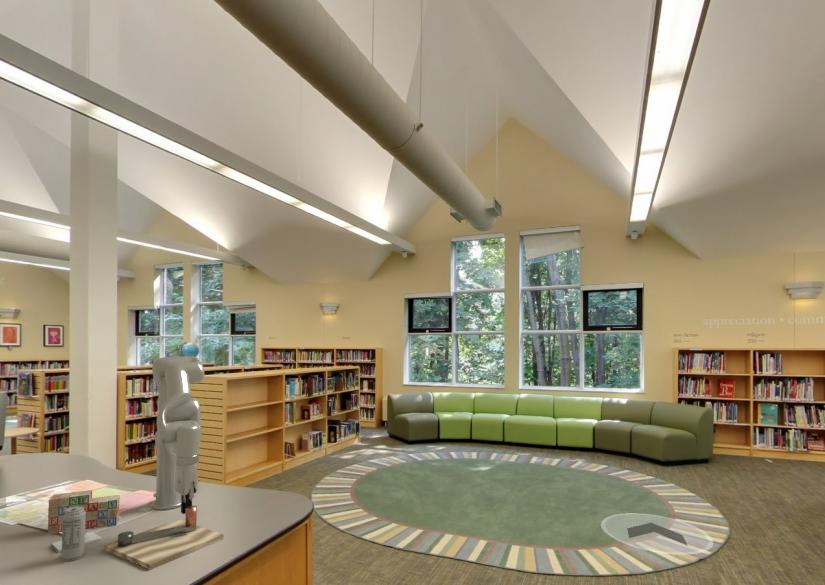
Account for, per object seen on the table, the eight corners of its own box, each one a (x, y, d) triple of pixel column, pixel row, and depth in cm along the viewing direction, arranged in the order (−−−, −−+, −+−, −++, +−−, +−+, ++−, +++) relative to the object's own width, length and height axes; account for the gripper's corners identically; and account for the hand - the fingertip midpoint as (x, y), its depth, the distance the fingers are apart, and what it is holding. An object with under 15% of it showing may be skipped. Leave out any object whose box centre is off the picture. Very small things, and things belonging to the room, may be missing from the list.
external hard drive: (50, 547, 168) (92, 535, 178) (58, 554, 163) (101, 542, 173) (50, 542, 169) (93, 531, 178) (58, 549, 163) (101, 537, 173)
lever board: (104, 550, 165) (104, 544, 165) (178, 523, 187) (178, 518, 187) (149, 570, 151) (149, 564, 151) (223, 538, 173) (223, 533, 173)
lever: (118, 547, 163) (118, 523, 163) (116, 542, 166) (117, 519, 167) (197, 530, 176) (197, 508, 177) (195, 526, 180) (195, 504, 180)
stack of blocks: (119, 519, 192) (120, 486, 193) (116, 525, 186) (117, 491, 187) (52, 528, 184) (53, 493, 185) (46, 535, 178) (48, 499, 179)
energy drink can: (88, 553, 163) (89, 505, 164) (76, 561, 157) (78, 512, 158) (69, 553, 163) (70, 505, 164) (56, 562, 157) (58, 512, 158)
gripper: (169, 458, 184) (168, 509, 183) (184, 466, 173) (183, 521, 172) (190, 454, 189) (189, 504, 188) (206, 461, 178) (205, 515, 177)
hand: (186, 512), depth 180 cm, fingers closed
